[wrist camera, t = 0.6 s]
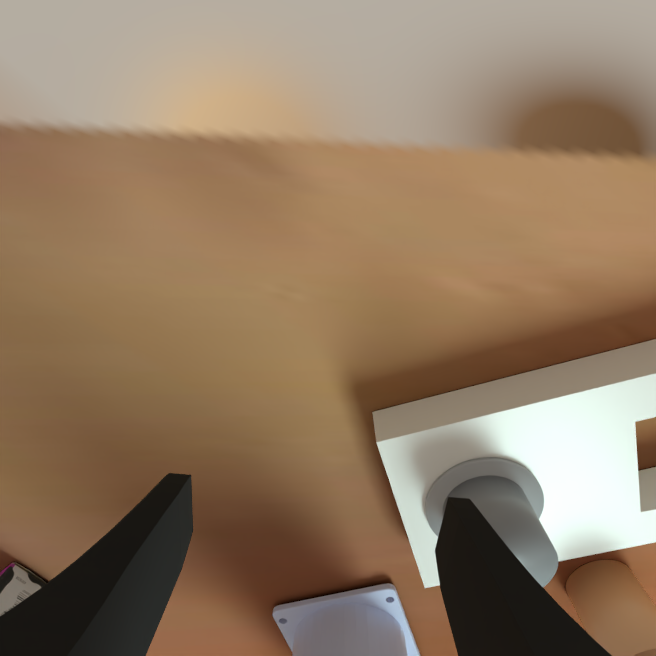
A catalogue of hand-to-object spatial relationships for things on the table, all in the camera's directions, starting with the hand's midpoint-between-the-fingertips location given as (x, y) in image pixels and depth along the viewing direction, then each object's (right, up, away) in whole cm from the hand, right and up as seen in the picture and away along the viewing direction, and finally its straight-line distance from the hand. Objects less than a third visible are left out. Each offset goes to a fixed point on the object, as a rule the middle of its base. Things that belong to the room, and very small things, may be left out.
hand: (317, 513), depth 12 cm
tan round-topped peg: (+17, -11, +15) cm, 25 cm away
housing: (+13, -1, +11) cm, 17 cm away
